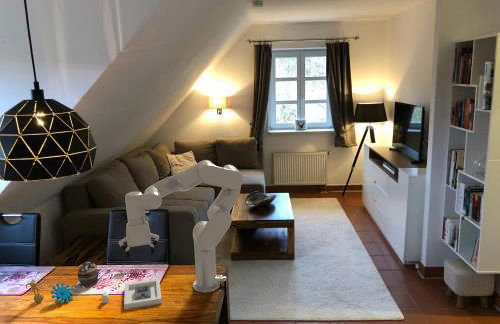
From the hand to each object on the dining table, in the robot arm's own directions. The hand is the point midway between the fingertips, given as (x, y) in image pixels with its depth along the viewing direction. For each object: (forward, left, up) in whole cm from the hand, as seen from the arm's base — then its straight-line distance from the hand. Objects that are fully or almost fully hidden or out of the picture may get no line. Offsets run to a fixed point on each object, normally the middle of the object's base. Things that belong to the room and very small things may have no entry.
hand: (141, 256), depth 177 cm
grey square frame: (+1, 0, -19) cm, 19 cm away
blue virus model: (+35, -7, -20) cm, 40 cm away
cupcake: (+26, -20, -20) cm, 38 cm away
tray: (+1, 0, -19) cm, 19 cm away
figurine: (+46, -8, -20) cm, 50 cm away
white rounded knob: (+17, 0, -19) cm, 25 cm away
